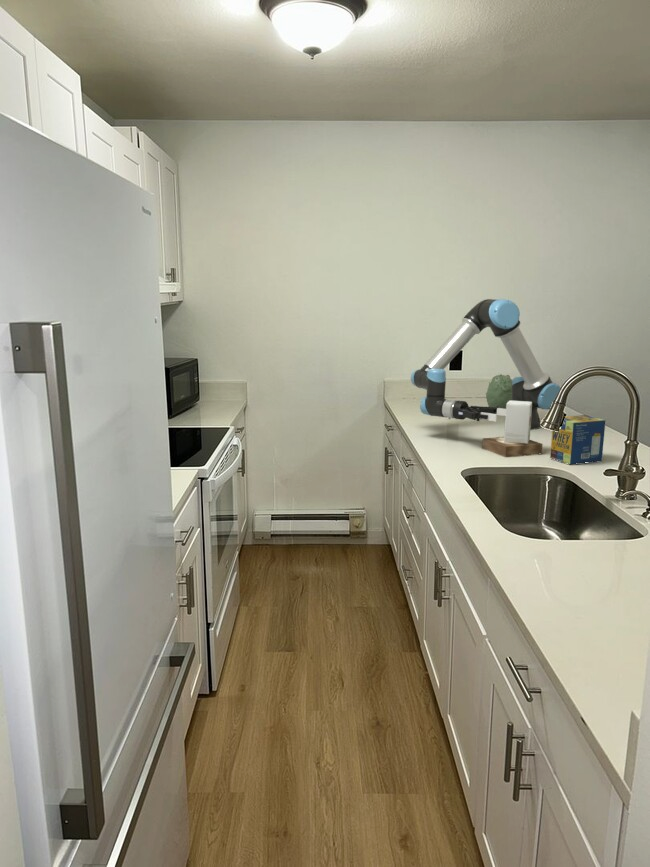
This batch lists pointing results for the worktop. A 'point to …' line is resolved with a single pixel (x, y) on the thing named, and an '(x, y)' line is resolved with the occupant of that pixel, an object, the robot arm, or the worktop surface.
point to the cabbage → (499, 391)
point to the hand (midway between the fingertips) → (504, 415)
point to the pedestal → (511, 447)
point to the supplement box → (518, 422)
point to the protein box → (578, 440)
